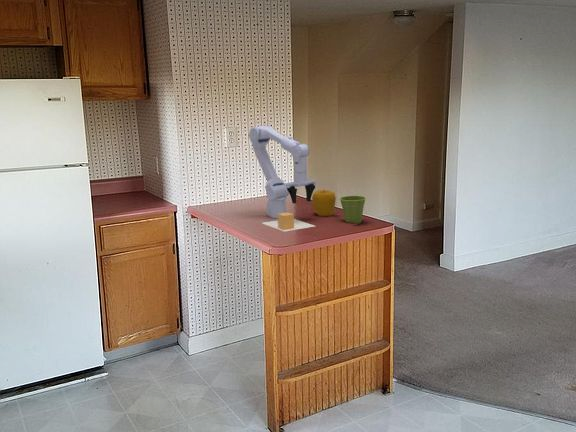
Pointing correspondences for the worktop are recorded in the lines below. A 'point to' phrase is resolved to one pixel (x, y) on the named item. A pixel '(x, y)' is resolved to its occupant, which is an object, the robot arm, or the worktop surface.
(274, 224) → the plate
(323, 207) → the apple
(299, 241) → the worktop surface
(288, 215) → the wooden toy cube
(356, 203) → the plant pot
